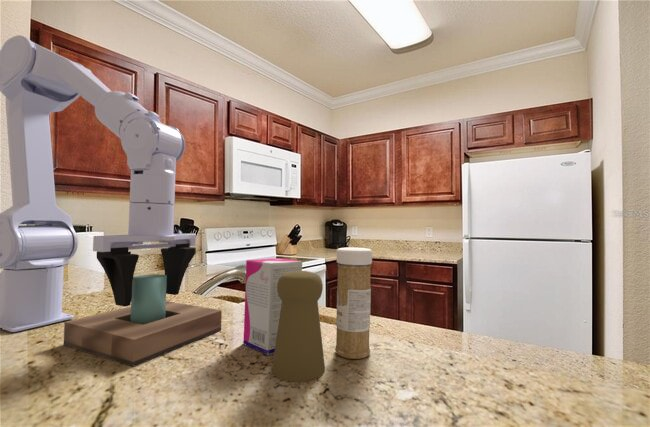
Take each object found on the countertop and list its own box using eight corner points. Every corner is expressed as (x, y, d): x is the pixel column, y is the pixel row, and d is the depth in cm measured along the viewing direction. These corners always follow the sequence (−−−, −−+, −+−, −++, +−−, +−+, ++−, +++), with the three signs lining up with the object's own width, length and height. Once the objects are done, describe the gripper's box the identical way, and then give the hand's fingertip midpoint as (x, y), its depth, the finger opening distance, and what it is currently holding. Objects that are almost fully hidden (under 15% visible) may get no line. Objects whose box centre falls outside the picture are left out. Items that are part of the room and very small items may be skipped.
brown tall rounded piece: (318, 385, 33) (320, 277, 33) (263, 378, 34) (265, 274, 35) (329, 360, 39) (331, 269, 39) (282, 355, 40) (283, 267, 40)
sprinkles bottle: (332, 346, 43) (334, 246, 44) (365, 345, 44) (367, 246, 44) (338, 361, 39) (339, 249, 39) (375, 360, 39) (376, 249, 40)
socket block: (63, 344, 42) (64, 321, 42) (158, 317, 55) (158, 299, 55) (133, 366, 36) (134, 339, 37) (221, 330, 49) (221, 310, 49)
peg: (123, 334, 45) (125, 277, 45) (153, 326, 49) (155, 273, 49) (141, 340, 43) (143, 280, 43) (171, 331, 47) (173, 276, 47)
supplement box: (302, 343, 44) (303, 260, 45) (267, 356, 40) (269, 263, 40) (275, 333, 48) (277, 256, 49) (241, 343, 44) (243, 259, 44)
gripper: (120, 200, 38) (115, 315, 38) (210, 206, 51) (208, 292, 51) (84, 200, 41) (80, 308, 41) (179, 207, 54) (176, 288, 54)
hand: (149, 299), depth 46 cm, fingers open, 7 cm apart
